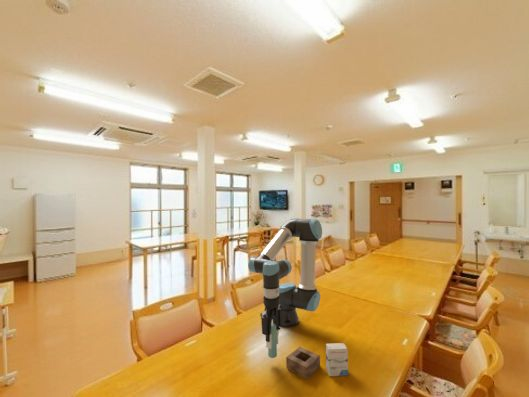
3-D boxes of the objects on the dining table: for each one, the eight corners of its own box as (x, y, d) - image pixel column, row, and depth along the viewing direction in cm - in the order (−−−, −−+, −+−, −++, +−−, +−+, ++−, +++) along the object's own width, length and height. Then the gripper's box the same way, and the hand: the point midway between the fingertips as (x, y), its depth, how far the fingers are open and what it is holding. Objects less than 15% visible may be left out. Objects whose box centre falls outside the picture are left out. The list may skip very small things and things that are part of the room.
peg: (266, 355, 119) (265, 325, 118) (272, 351, 122) (271, 322, 121) (273, 359, 116) (272, 328, 116) (278, 354, 119) (278, 325, 119)
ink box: (344, 368, 115) (344, 342, 115) (348, 376, 110) (348, 348, 110) (325, 368, 115) (325, 342, 115) (328, 376, 110) (328, 349, 110)
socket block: (286, 368, 116) (286, 357, 116) (299, 356, 124) (299, 346, 124) (307, 379, 108) (307, 367, 108) (320, 366, 117) (319, 355, 117)
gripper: (265, 304, 109) (266, 357, 110) (288, 292, 122) (289, 340, 123) (252, 299, 114) (253, 350, 115) (276, 288, 127) (277, 334, 128)
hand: (272, 345), depth 119 cm, fingers closed on peg, 4 cm apart
